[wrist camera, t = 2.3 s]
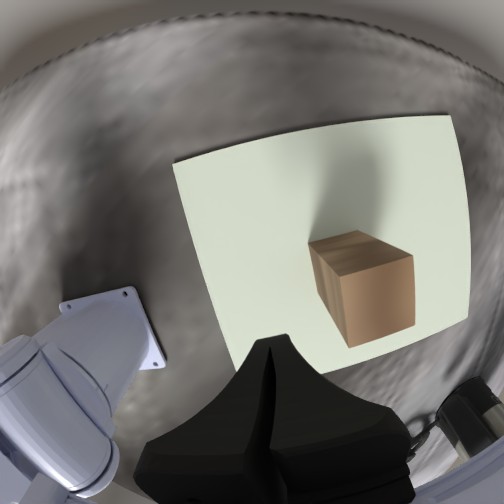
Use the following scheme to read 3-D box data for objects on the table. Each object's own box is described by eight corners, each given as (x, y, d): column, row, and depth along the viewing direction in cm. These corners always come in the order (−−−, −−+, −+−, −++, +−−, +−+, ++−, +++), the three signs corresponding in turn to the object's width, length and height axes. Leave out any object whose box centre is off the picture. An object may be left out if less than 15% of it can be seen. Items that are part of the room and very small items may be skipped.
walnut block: (317, 292, 20) (348, 348, 13) (307, 242, 20) (339, 277, 12) (365, 279, 20) (415, 325, 12) (357, 230, 19) (413, 255, 12)
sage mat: (243, 387, 23) (243, 390, 23) (173, 164, 19) (172, 164, 18) (465, 315, 22) (467, 317, 21) (447, 116, 17) (450, 115, 17)
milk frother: (492, 376, 24) (544, 432, 10) (434, 450, 27) (466, 509, 13) (438, 373, 23) (504, 457, 9) (371, 458, 27) (399, 538, 12)
